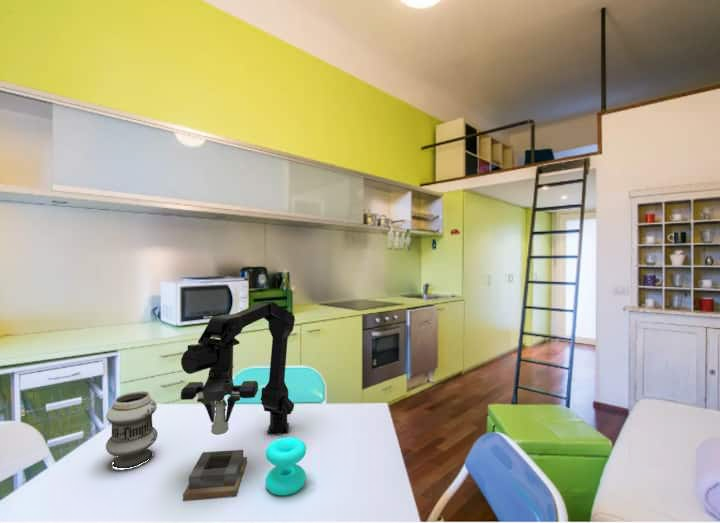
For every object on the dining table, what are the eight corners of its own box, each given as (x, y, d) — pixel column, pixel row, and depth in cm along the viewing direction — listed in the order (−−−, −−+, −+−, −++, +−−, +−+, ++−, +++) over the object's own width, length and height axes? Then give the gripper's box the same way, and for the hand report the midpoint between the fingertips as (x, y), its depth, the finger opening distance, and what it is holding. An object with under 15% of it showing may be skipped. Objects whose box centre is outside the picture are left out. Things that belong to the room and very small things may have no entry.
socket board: (201, 465, 94) (201, 449, 94) (247, 462, 95) (247, 446, 95) (182, 500, 80) (183, 481, 80) (236, 496, 82) (236, 477, 82)
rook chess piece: (232, 429, 93) (233, 400, 93) (219, 436, 89) (219, 406, 89) (220, 426, 95) (221, 397, 95) (207, 432, 91) (207, 402, 91)
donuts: (301, 456, 81) (260, 455, 81) (301, 498, 81) (259, 497, 81) (309, 435, 91) (272, 434, 91) (309, 473, 91) (271, 471, 91)
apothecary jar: (101, 460, 96) (102, 396, 96) (149, 443, 104) (150, 385, 104) (111, 479, 87) (112, 409, 87) (163, 459, 96) (164, 396, 96)
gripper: (172, 373, 83) (170, 438, 83) (251, 372, 85) (249, 435, 85) (189, 361, 94) (187, 417, 94) (259, 360, 96) (257, 415, 96)
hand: (220, 421), depth 92 cm, fingers closed on rook chess piece, 3 cm apart
